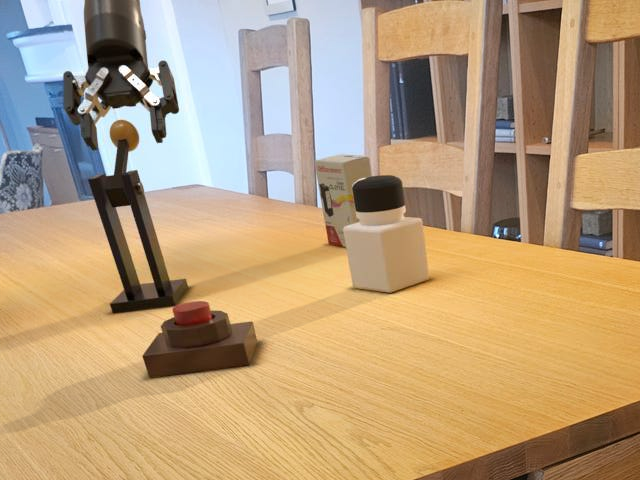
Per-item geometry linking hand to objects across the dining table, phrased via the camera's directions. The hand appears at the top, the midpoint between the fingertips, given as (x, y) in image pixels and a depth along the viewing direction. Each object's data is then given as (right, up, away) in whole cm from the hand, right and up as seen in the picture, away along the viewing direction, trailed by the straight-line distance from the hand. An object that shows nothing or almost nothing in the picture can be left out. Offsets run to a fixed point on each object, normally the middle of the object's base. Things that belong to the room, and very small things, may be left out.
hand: (125, 142), depth 109 cm
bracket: (+3, -20, +2) cm, 20 cm away
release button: (+18, -33, -25) cm, 45 cm away
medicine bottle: (+35, -20, -3) cm, 41 cm away
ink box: (+27, -4, +21) cm, 34 cm away
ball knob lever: (+1, -5, -1) cm, 5 cm away
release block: (+18, -36, -23) cm, 47 cm away
